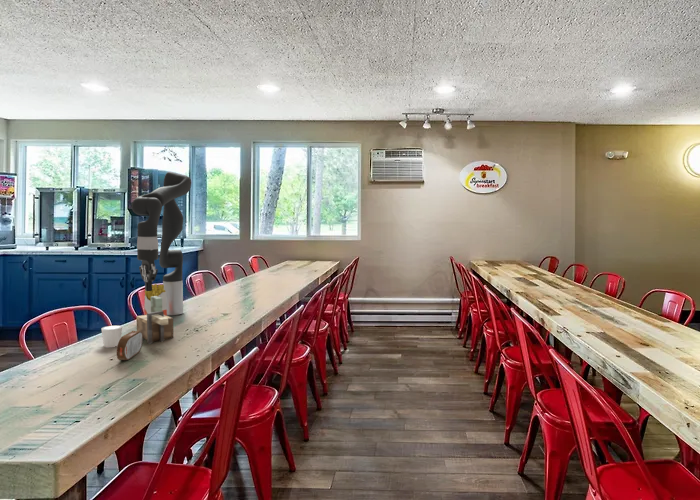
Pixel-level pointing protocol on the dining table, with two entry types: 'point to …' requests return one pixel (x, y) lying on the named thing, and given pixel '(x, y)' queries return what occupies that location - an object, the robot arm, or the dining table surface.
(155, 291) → the french fries container
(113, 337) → the white cup
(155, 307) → the lid
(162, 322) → the key
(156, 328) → the toolbox
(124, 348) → the tin
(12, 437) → the dining table surface
